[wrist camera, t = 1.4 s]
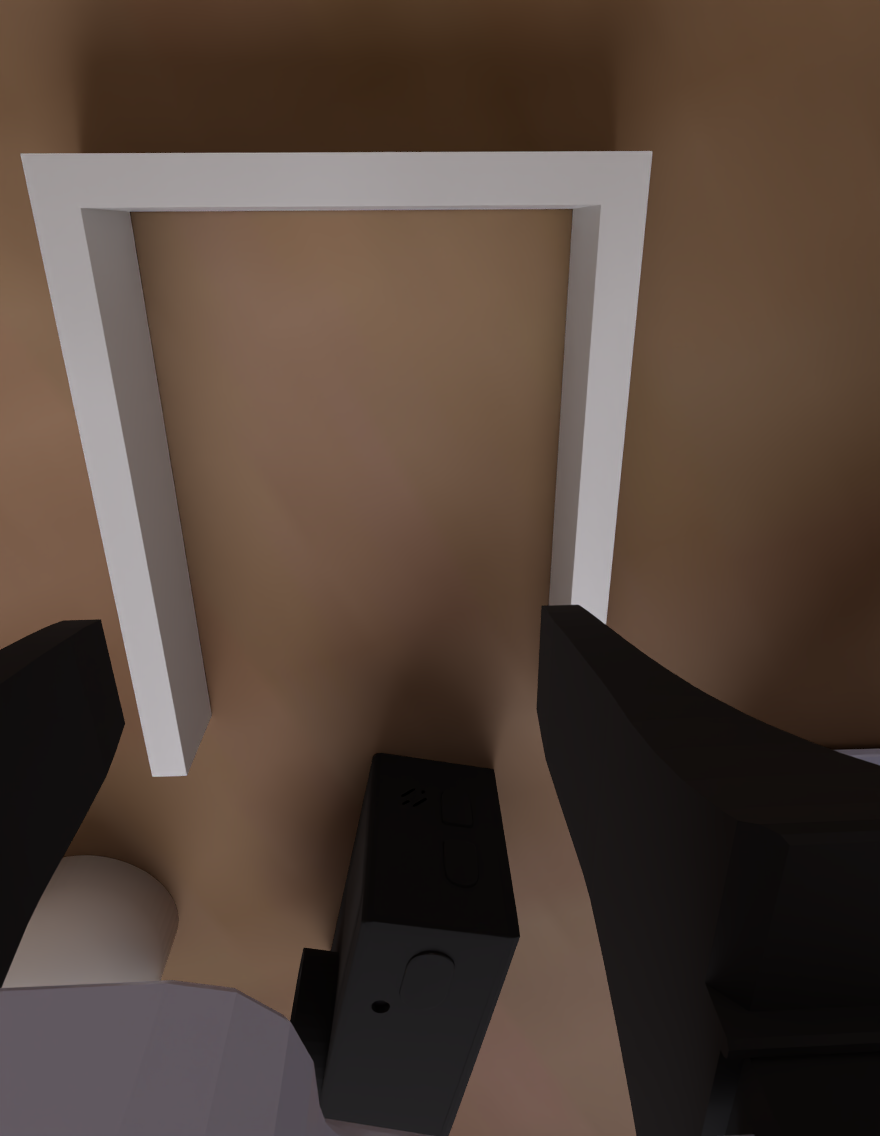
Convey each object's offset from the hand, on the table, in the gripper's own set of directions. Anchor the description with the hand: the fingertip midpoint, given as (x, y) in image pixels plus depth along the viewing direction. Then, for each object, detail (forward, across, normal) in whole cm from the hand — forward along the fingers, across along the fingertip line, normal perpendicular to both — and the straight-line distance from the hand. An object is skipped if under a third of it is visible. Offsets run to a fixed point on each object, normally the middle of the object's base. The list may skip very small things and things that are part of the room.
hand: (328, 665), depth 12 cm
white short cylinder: (+10, +11, +17) cm, 23 cm away
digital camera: (+10, 0, +15) cm, 18 cm away
